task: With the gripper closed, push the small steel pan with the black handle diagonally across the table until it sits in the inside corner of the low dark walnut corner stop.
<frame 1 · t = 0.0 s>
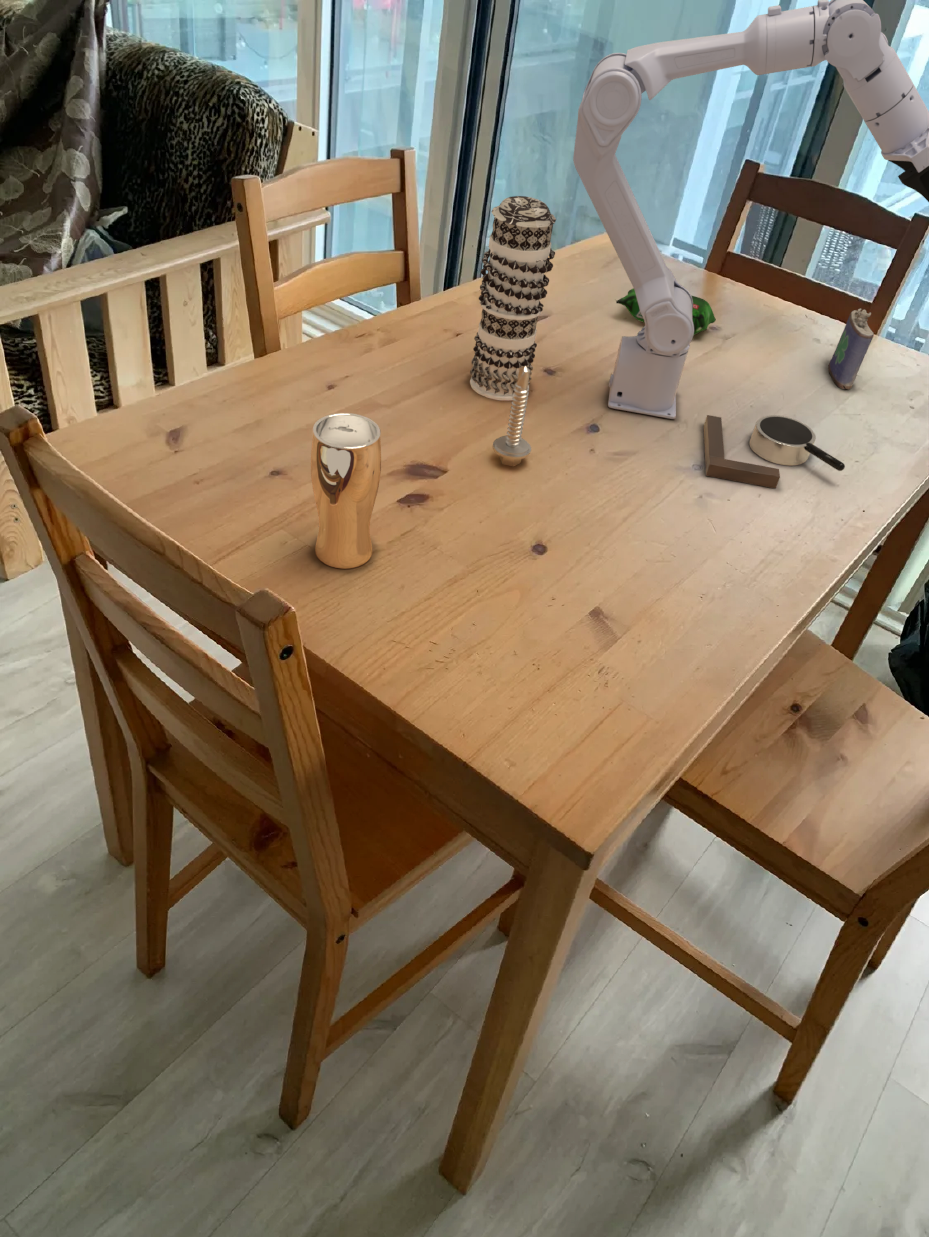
screw: (509, 462, 117), on the table
decorative candle: (499, 387, 131), on the table
beer glass: (343, 552, 100), on the table
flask: (838, 377, 146), on the table
corner stop: (720, 470, 121), on the table
steel pan: (778, 449, 126), on the table
snack package: (662, 325, 153), on the table
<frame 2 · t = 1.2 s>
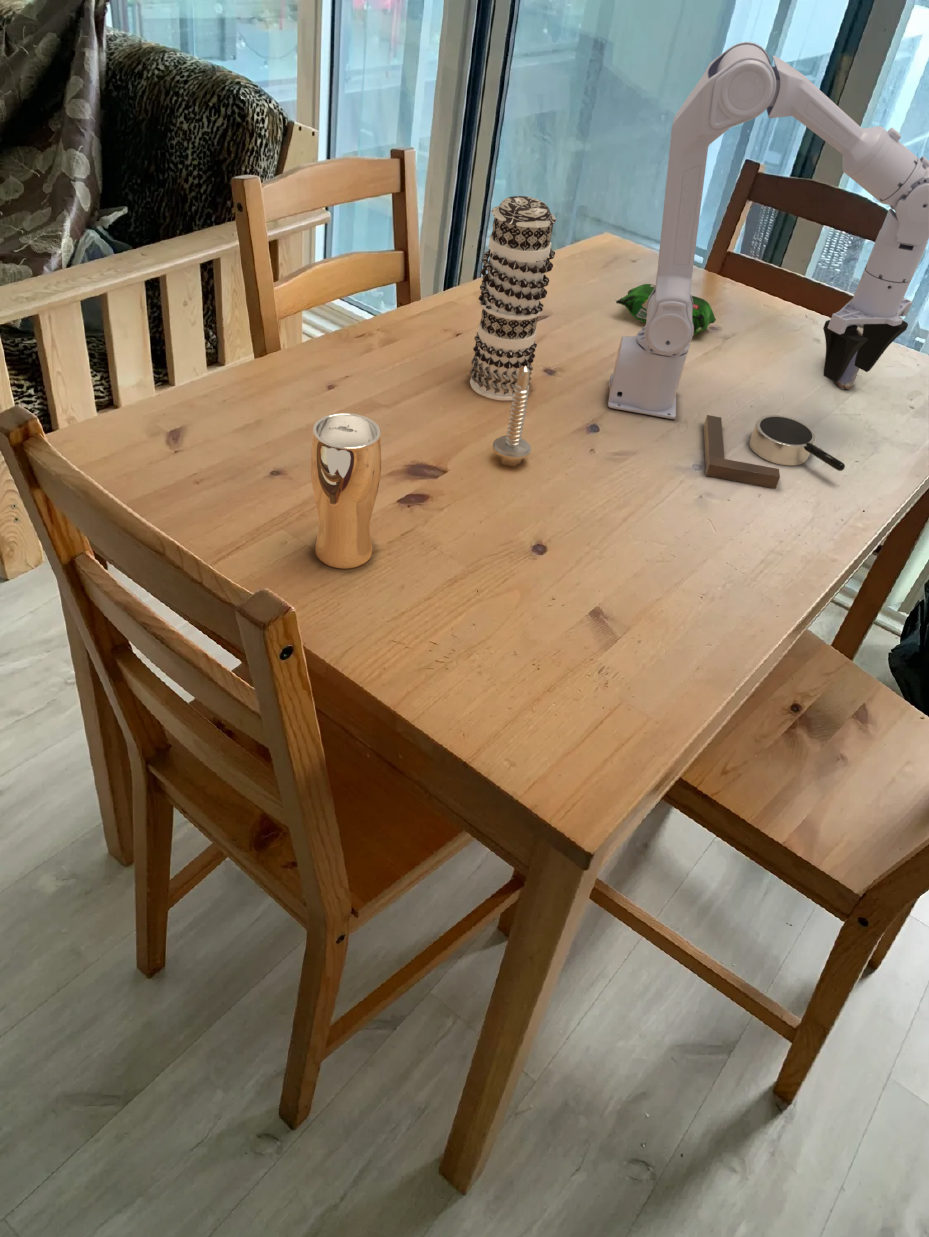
hand: (846, 373, 125), 9 cm above the table, tool pointing down, fingers open, 6 cm apart
nothing on the table moved.
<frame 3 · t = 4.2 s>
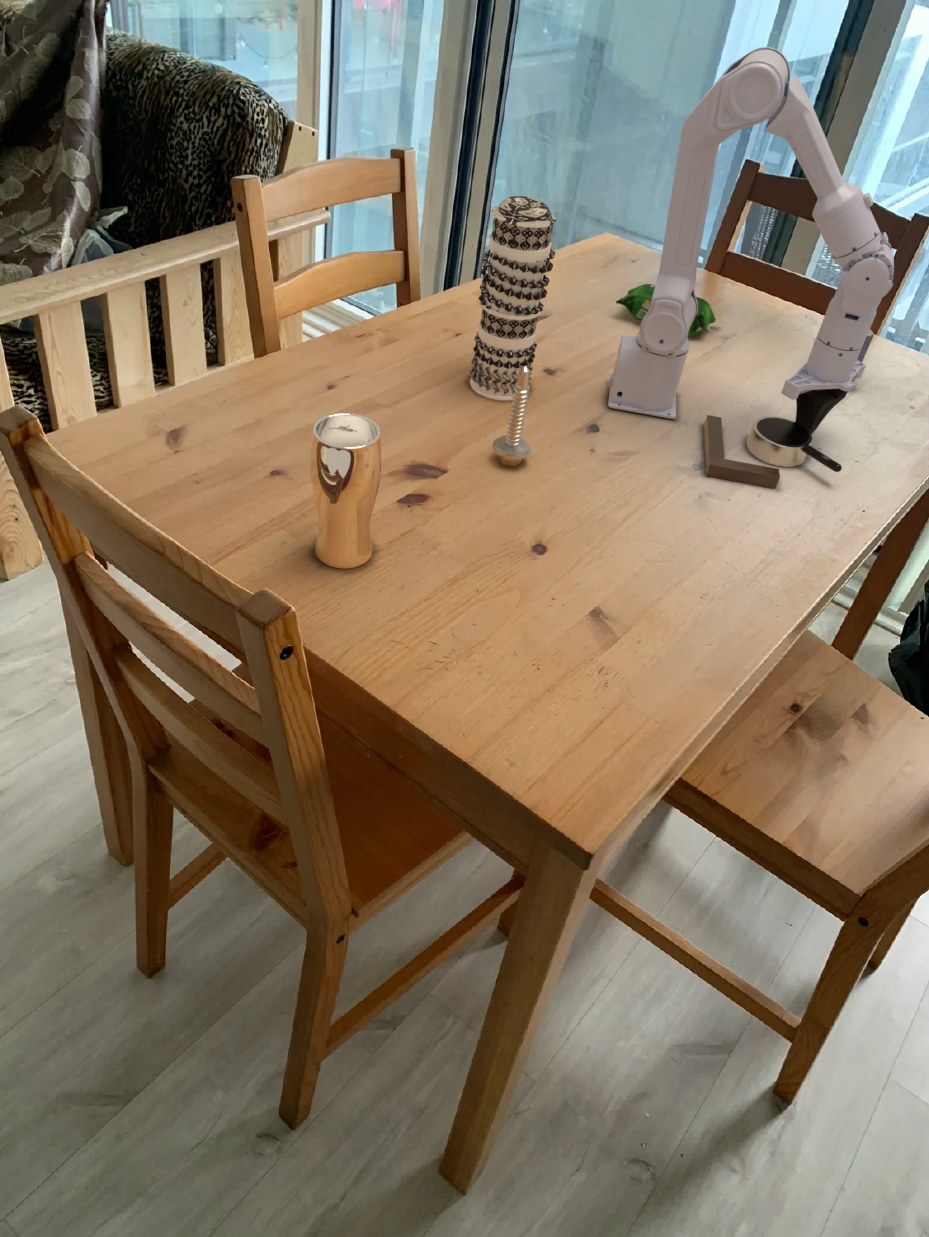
hand: (802, 433, 128), 1 cm above the table, tool pointing down, fingers closed
steel pan: (775, 450, 126), on the table, touching gripper
everything else where it was.
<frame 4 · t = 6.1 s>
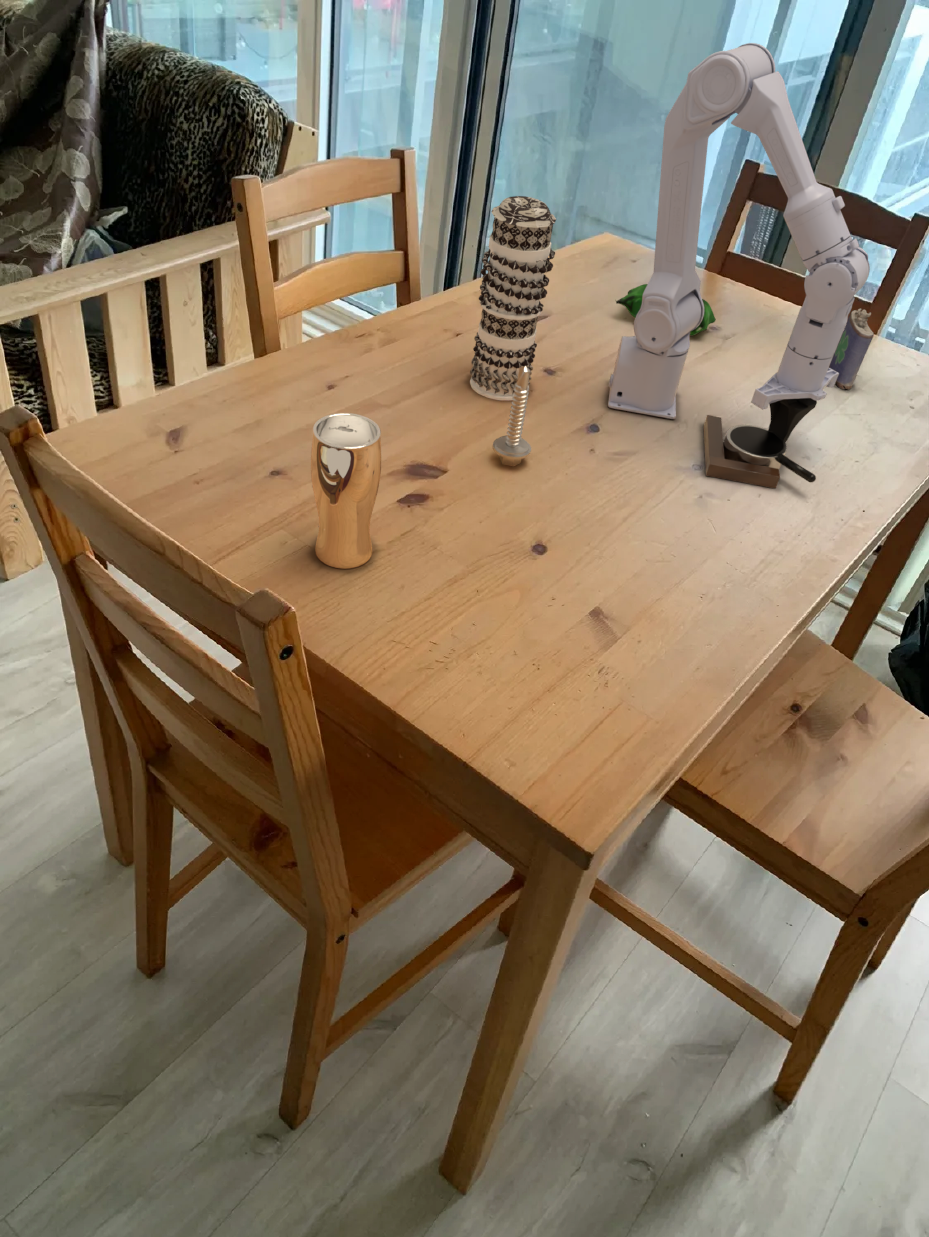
hand: (774, 443, 125), 1 cm above the table, tool pointing down, fingers closed, pressing on steel pan
steel pan: (749, 460, 123), on the table, touching corner stop, gripper
everything else where it was.
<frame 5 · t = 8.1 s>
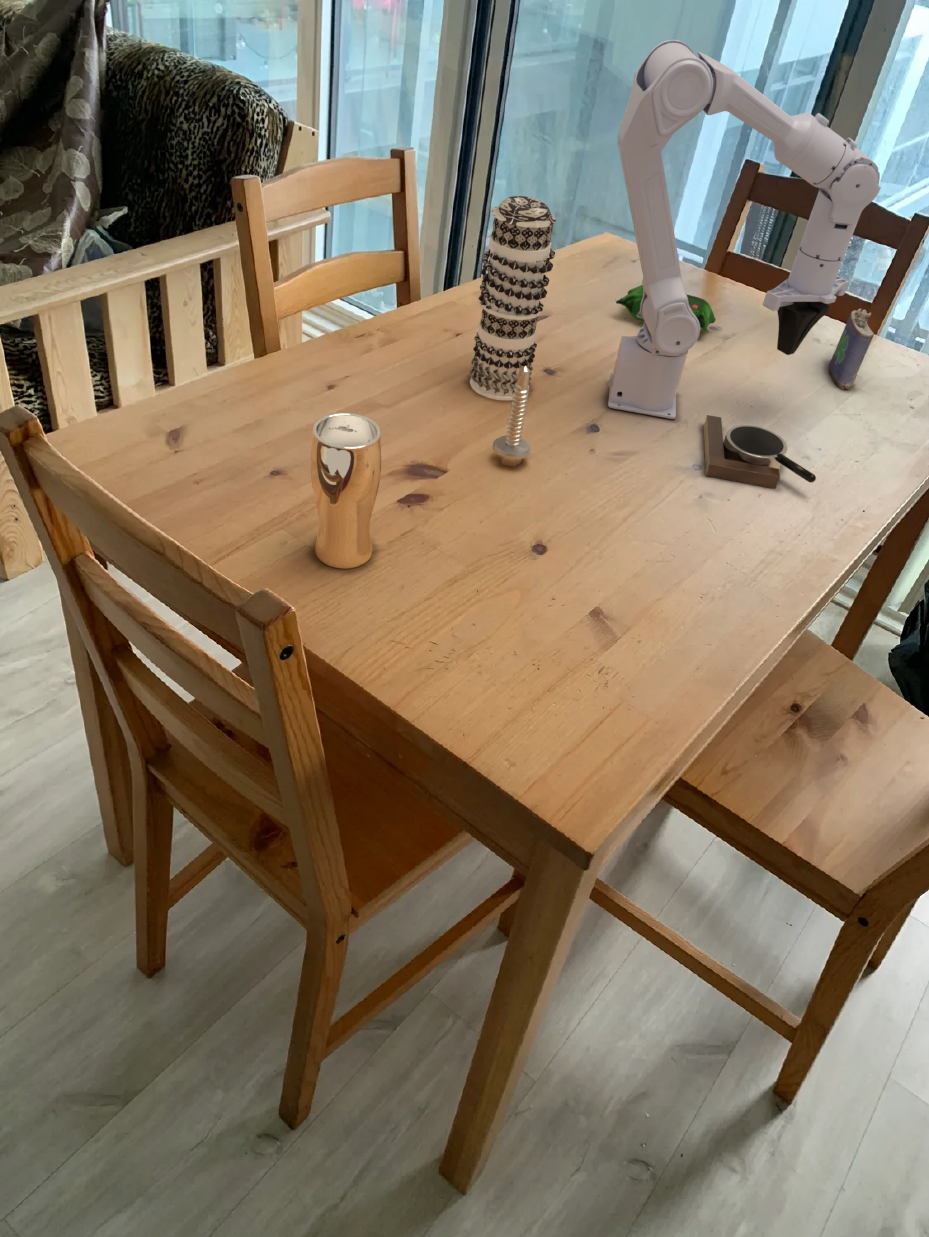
hand: (785, 351, 128), 9 cm above the table, tool pointing down, fingers closed
steel pan: (749, 460, 123), on the table
everything else where it was.
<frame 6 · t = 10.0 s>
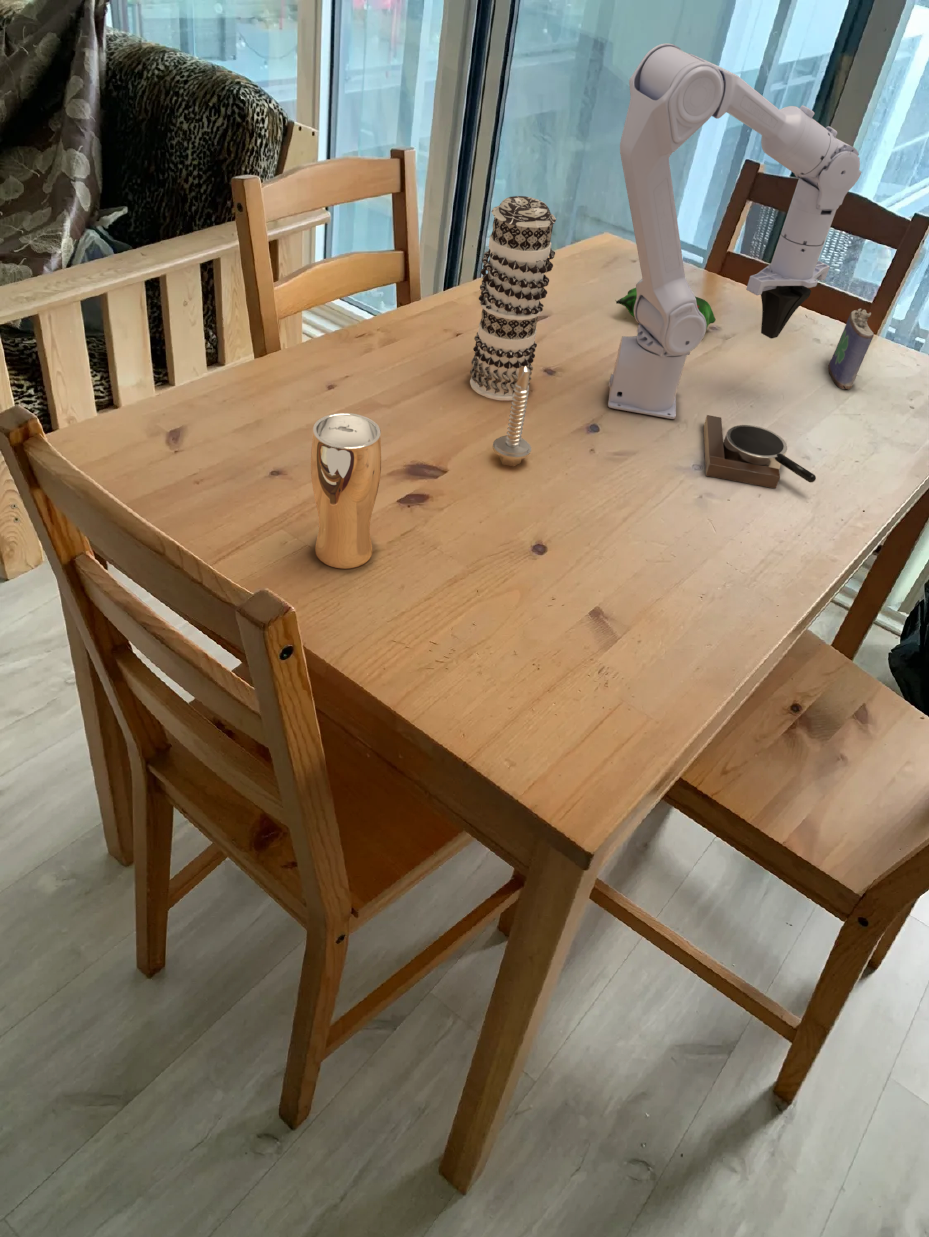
hand: (769, 335, 131), 9 cm above the table, tool pointing down, fingers closed
nothing on the table moved.
at the end: steel pan 0.3 cm from the target spot, on the table; steel pan moved 6.0 cm from its start; steel pan tilted 0° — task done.
